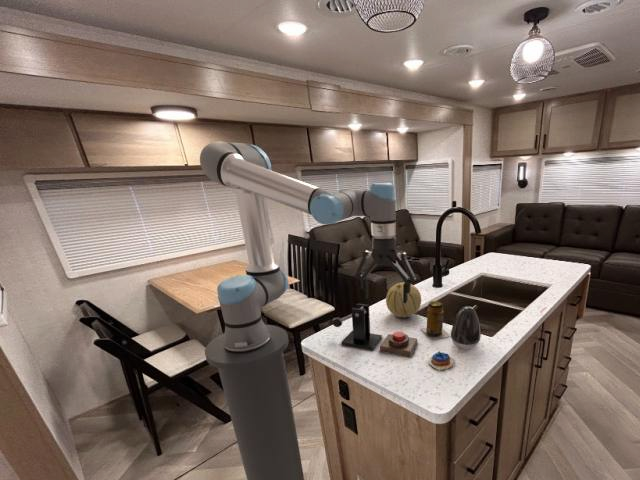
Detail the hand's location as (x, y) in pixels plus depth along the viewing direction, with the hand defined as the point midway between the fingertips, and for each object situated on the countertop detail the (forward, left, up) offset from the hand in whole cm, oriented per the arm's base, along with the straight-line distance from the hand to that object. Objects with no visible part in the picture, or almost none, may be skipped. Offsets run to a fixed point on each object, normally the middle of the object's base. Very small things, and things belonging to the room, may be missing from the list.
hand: (385, 300), depth 107 cm
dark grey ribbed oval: (+27, +8, -18) cm, 33 cm away
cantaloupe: (-1, +25, -18) cm, 31 cm away
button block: (+5, 0, -18) cm, 18 cm away
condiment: (+15, +14, -18) cm, 27 cm away
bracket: (-9, 0, -18) cm, 20 cm away
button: (+5, 0, -14) cm, 15 cm away
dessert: (+21, -5, -18) cm, 28 cm away
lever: (-13, 0, -10) cm, 17 cm away
